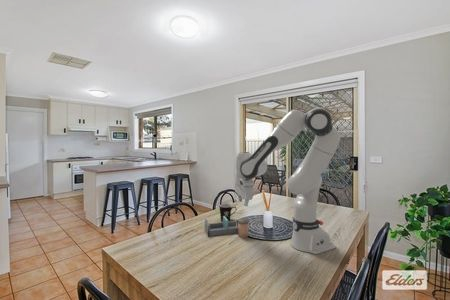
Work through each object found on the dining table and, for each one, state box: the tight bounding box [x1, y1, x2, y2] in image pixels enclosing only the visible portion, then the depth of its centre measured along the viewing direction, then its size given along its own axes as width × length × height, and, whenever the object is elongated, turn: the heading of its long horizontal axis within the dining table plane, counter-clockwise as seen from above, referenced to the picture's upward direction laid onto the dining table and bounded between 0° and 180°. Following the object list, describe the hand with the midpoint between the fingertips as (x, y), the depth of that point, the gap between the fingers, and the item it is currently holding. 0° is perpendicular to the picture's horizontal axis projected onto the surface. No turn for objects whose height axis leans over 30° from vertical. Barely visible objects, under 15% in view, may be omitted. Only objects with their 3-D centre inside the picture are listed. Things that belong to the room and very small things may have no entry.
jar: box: [237, 217, 250, 239], centre depth 127 cm, size 6×6×9 cm
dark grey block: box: [204, 218, 238, 237], centre depth 134 cm, size 20×11×6 cm, turn 105°
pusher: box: [222, 216, 229, 229], centre depth 135 cm, size 1×8×7 cm, turn 15°
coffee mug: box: [219, 203, 237, 222], centre depth 153 cm, size 12×9×10 cm
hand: (243, 203), depth 126 cm, fingers open, 8 cm apart
